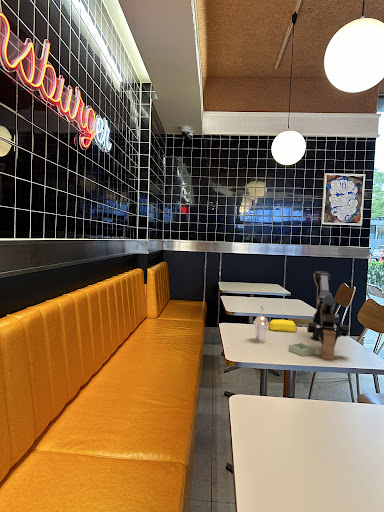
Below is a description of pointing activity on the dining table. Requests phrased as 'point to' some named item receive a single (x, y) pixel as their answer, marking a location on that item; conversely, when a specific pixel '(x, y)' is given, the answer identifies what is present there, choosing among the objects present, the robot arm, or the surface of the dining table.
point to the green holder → (302, 349)
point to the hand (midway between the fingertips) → (328, 344)
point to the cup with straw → (260, 327)
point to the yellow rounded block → (282, 325)
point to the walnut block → (328, 344)
